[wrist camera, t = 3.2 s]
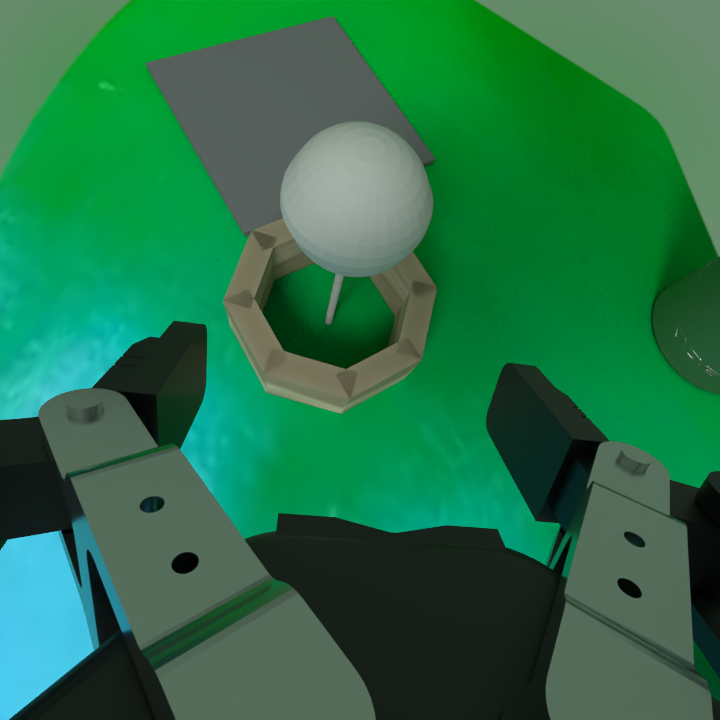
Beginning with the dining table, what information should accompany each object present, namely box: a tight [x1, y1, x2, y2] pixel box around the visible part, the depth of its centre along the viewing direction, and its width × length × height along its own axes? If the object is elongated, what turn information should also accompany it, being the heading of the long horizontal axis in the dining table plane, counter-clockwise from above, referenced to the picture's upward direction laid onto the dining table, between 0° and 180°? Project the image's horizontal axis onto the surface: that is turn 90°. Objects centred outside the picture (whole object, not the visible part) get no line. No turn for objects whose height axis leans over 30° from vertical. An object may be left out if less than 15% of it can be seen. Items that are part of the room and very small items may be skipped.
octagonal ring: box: [223, 218, 437, 414], centre depth 28 cm, size 12×12×4 cm
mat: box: [146, 16, 435, 236], centre depth 34 cm, size 16×16×1 cm
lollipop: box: [280, 121, 433, 325], centre depth 22 cm, size 6×6×15 cm
